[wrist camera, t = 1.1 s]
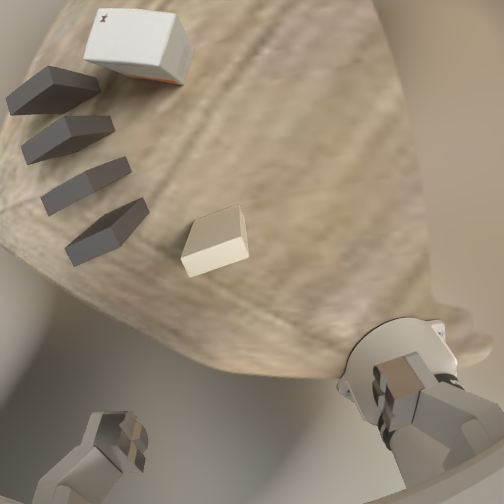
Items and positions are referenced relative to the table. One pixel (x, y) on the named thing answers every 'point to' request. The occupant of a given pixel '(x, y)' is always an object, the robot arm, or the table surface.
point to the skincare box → (140, 44)
